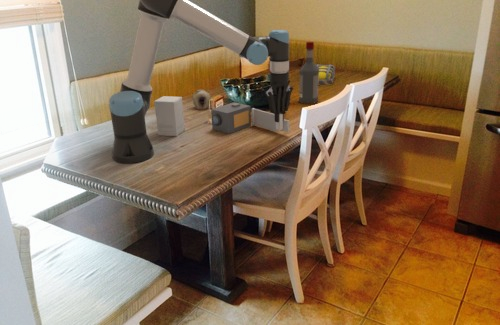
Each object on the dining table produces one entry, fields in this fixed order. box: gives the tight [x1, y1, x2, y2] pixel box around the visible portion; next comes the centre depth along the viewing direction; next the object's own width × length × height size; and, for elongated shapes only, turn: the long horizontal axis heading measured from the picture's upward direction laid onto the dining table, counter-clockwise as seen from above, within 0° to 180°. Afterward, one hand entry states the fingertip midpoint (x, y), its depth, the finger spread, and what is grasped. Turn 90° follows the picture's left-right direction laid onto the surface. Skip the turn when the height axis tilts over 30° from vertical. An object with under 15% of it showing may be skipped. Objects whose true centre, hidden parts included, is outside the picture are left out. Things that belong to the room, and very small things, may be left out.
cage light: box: [316, 64, 336, 86], centre depth 275 cm, size 15×8×30 cm
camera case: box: [210, 101, 252, 134], centre depth 194 cm, size 15×10×10 cm
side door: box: [251, 107, 290, 133], centre depth 189 cm, size 21×1×7 cm, turn 43°
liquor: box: [298, 41, 319, 104], centre depth 226 cm, size 9×9×30 cm
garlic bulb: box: [192, 89, 212, 111], centre depth 225 cm, size 9×8×10 cm
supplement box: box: [153, 95, 186, 137], centre depth 189 cm, size 9×9×15 cm
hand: (279, 128), depth 183 cm, fingers closed
